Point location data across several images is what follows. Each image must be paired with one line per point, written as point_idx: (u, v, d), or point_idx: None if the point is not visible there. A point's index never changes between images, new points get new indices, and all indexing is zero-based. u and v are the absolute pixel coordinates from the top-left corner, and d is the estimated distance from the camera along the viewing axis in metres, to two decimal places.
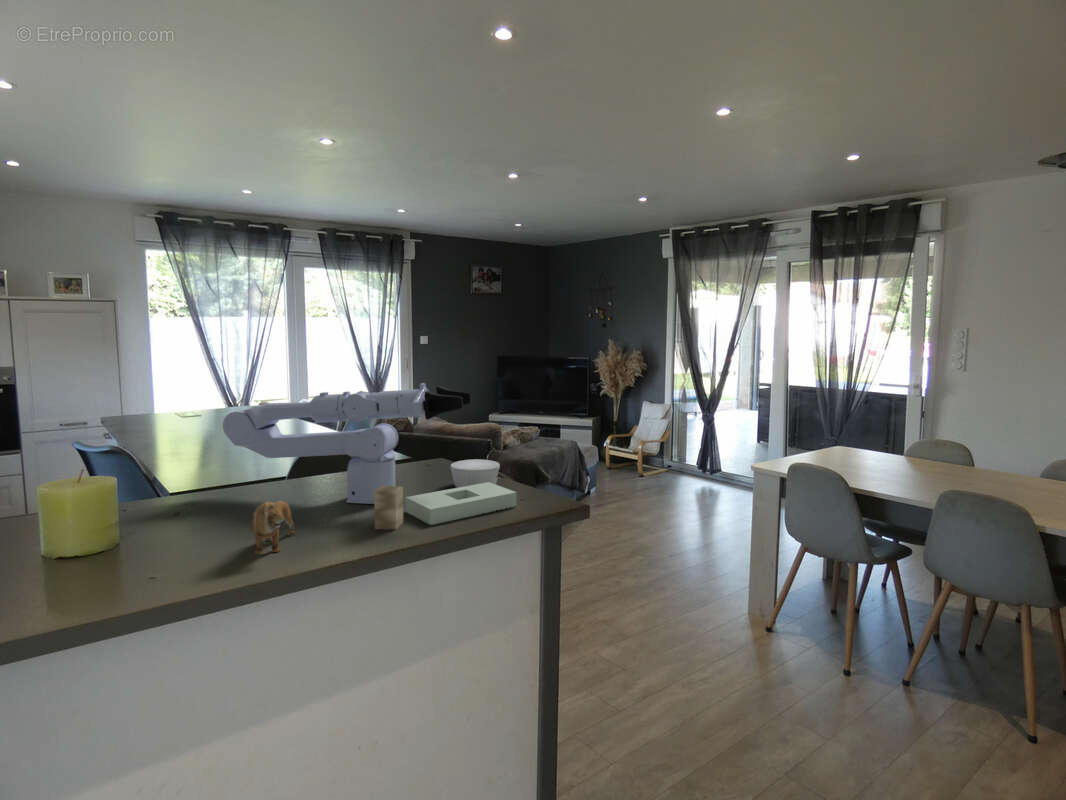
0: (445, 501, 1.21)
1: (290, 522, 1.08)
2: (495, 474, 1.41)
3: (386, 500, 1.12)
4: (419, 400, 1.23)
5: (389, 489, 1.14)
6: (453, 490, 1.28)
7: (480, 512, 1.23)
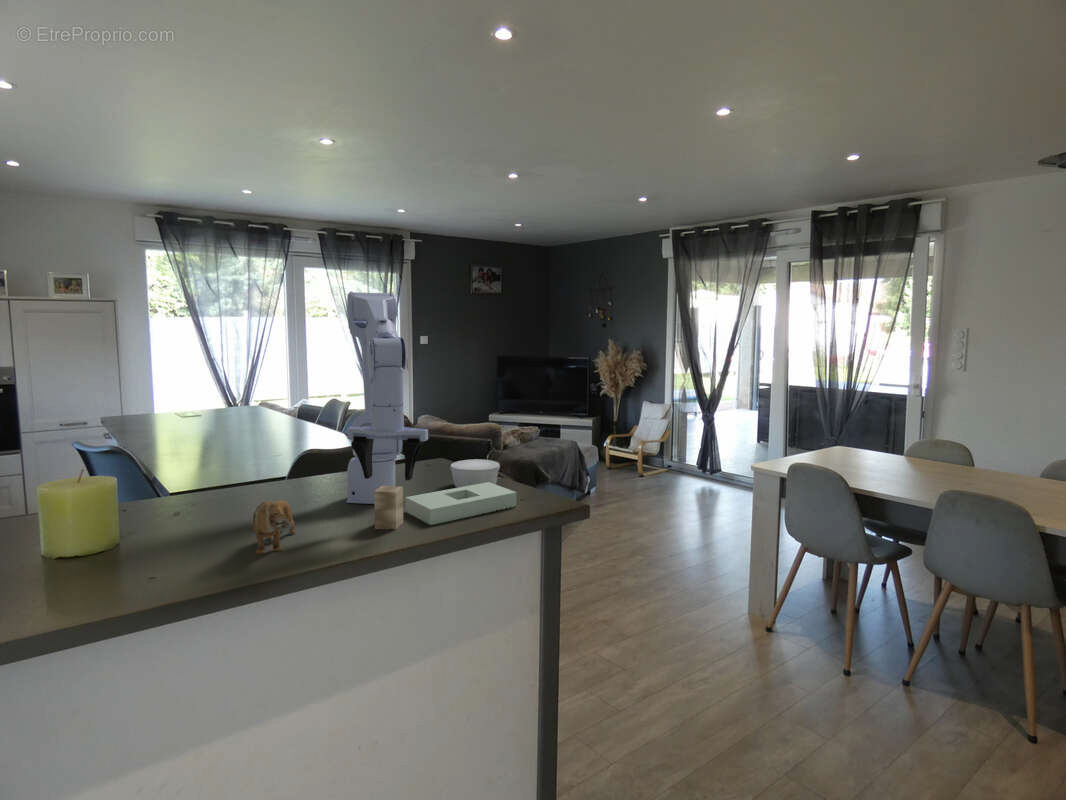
0: (445, 501, 1.21)
1: (291, 521, 1.08)
2: (495, 474, 1.41)
3: (386, 500, 1.12)
4: None
5: (389, 489, 1.14)
6: (453, 490, 1.28)
7: (480, 512, 1.23)
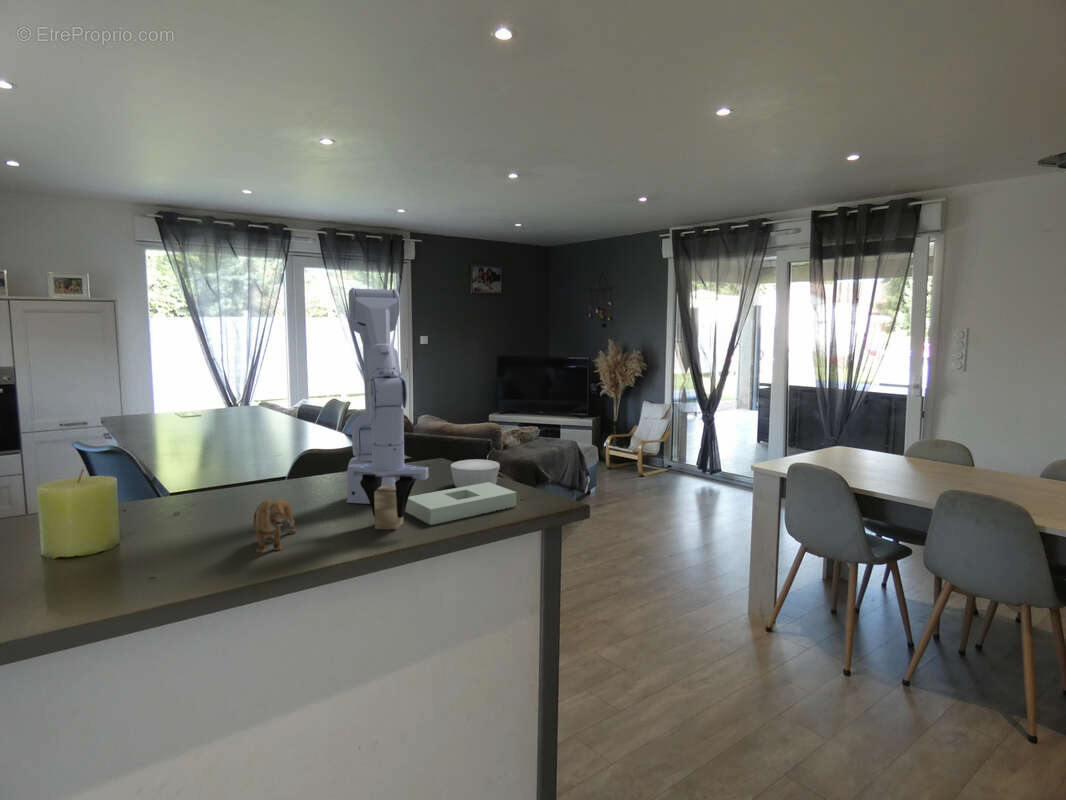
0: (445, 501, 1.21)
1: (291, 520, 1.09)
2: (495, 474, 1.41)
3: (386, 500, 1.12)
4: None
5: (389, 489, 1.14)
6: (453, 490, 1.28)
7: (480, 512, 1.23)
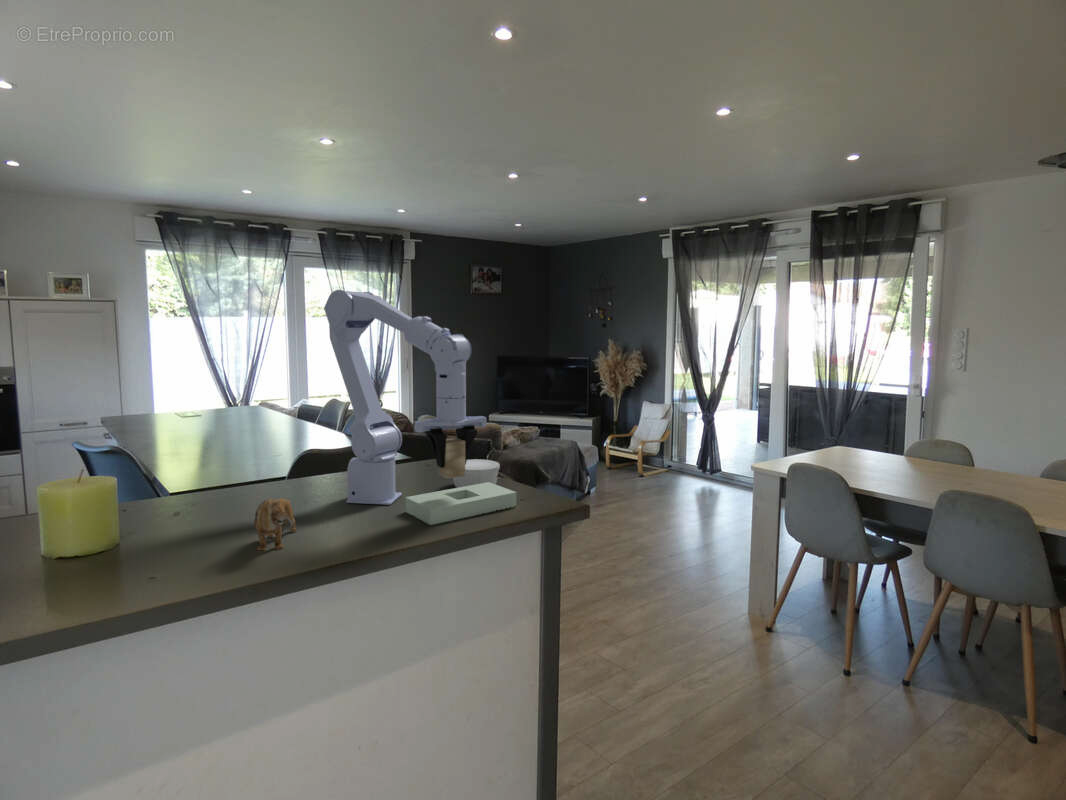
0: (445, 501, 1.21)
1: (292, 519, 1.09)
2: (495, 474, 1.41)
3: (457, 449, 1.21)
4: (430, 425, 1.19)
5: (453, 440, 1.22)
6: (453, 490, 1.28)
7: (480, 512, 1.23)
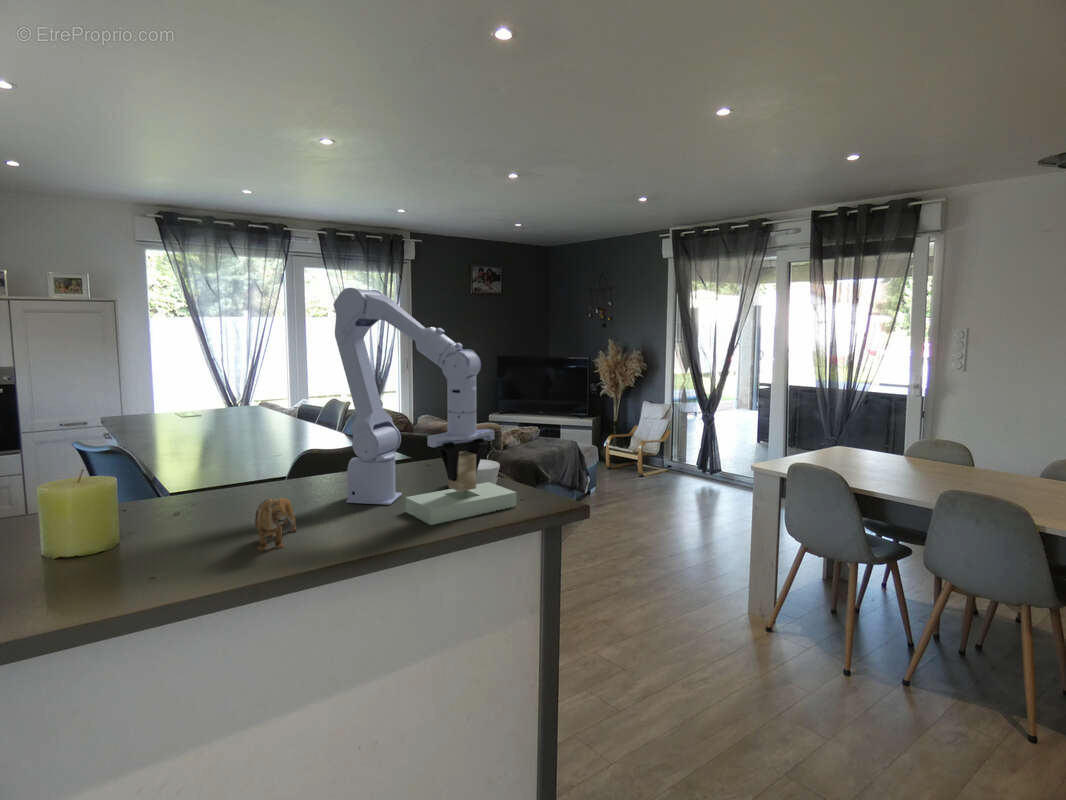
0: (445, 501, 1.21)
1: (292, 519, 1.10)
2: (495, 474, 1.41)
3: (468, 463, 1.23)
4: None
5: (464, 453, 1.24)
6: (453, 490, 1.28)
7: (480, 512, 1.23)
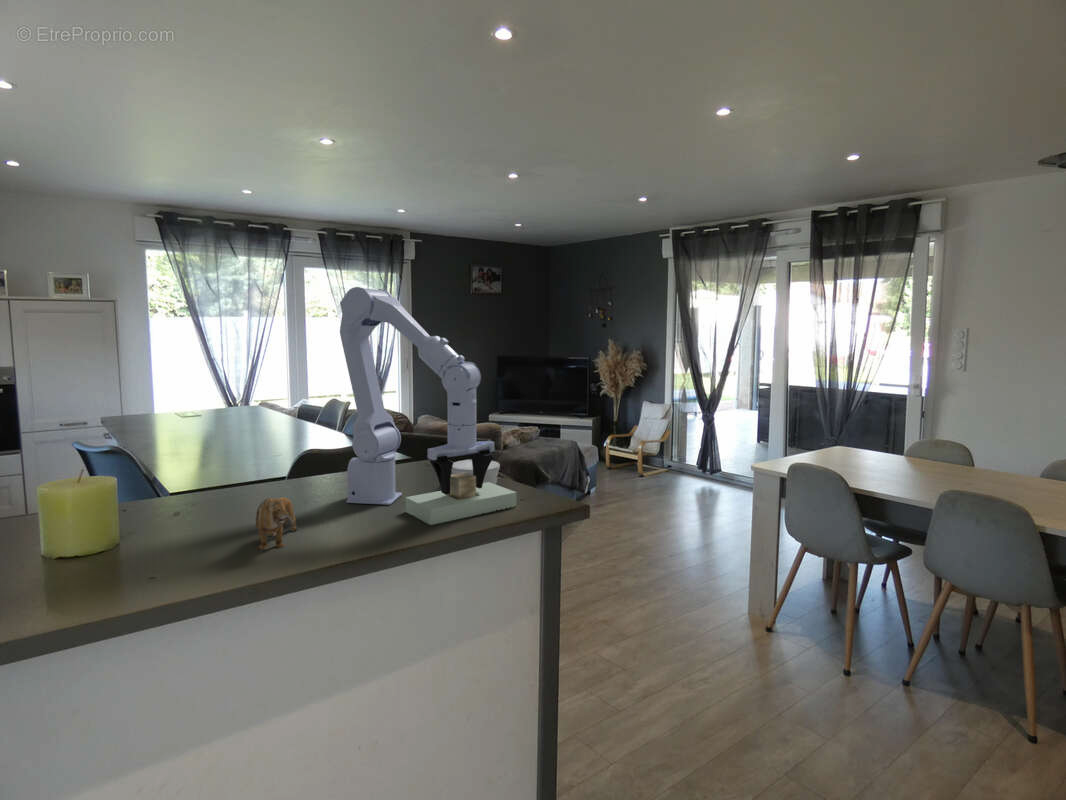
0: (445, 501, 1.21)
1: (292, 518, 1.10)
2: (495, 474, 1.41)
3: (468, 485, 1.24)
4: (444, 453, 1.21)
5: (463, 475, 1.25)
6: None
7: (480, 512, 1.23)
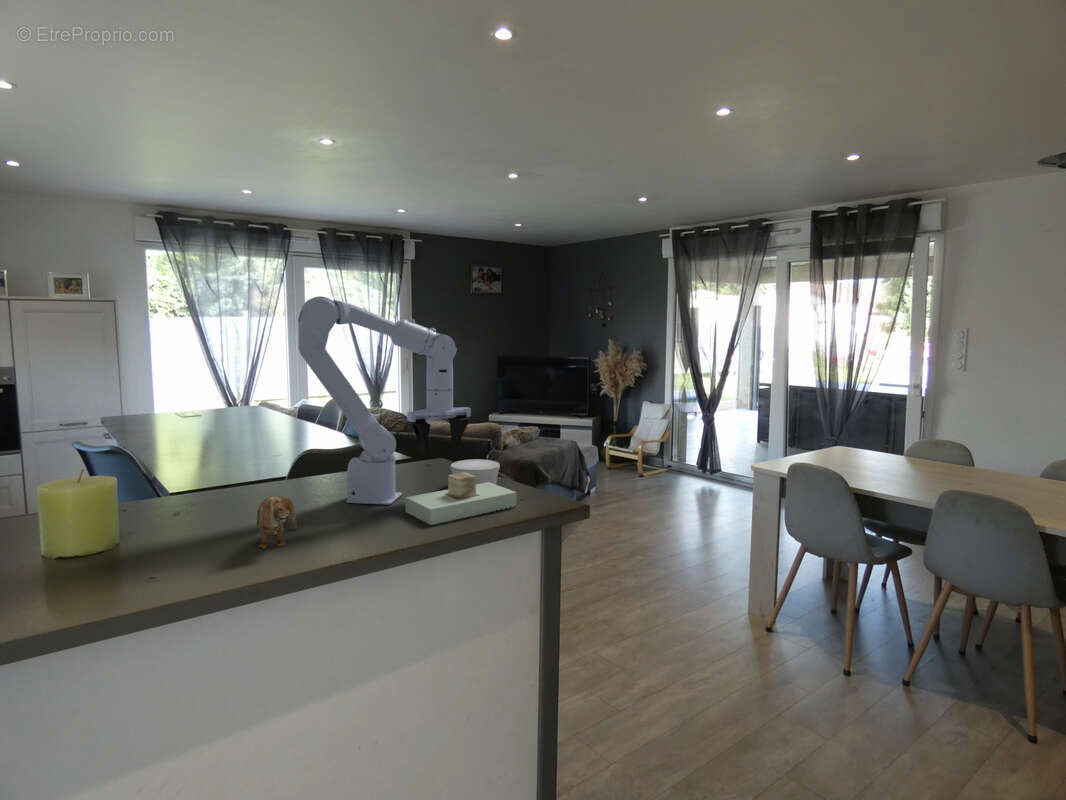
0: (445, 501, 1.21)
1: (293, 517, 1.11)
2: (495, 474, 1.41)
3: (468, 485, 1.24)
4: (422, 415, 1.31)
5: (463, 475, 1.25)
6: None
7: (480, 512, 1.23)
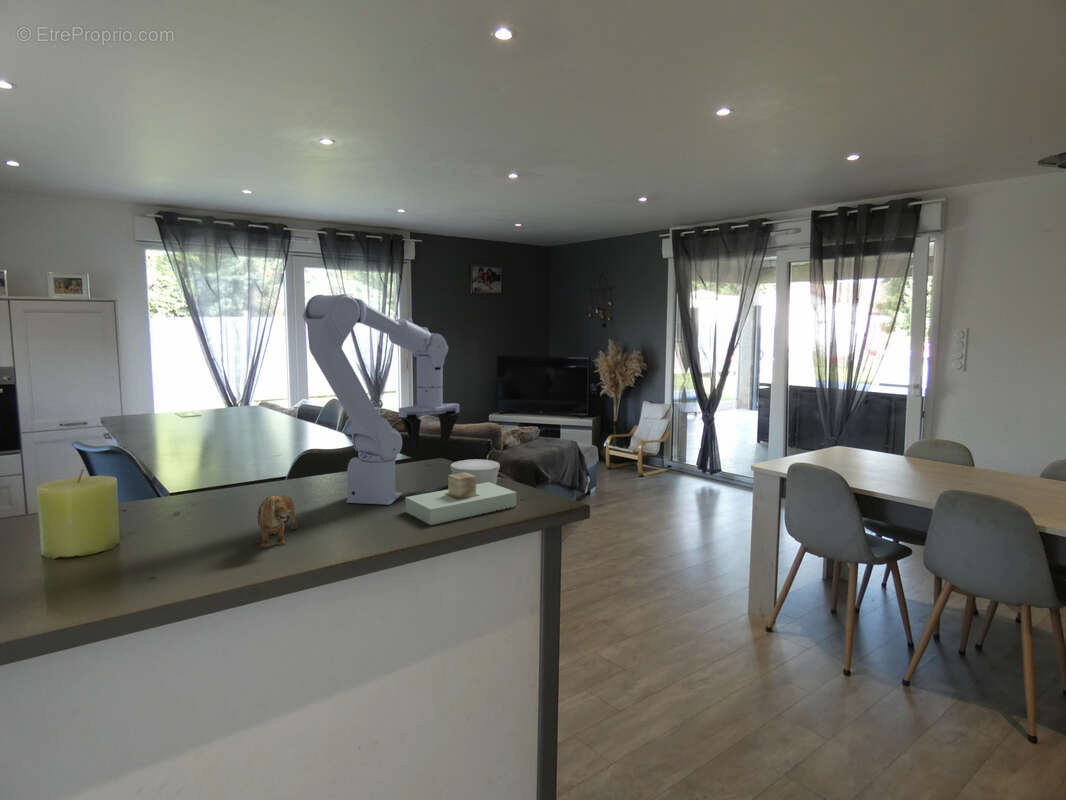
0: (445, 501, 1.21)
1: (293, 516, 1.11)
2: (495, 474, 1.41)
3: (468, 485, 1.24)
4: (413, 411, 1.37)
5: (463, 475, 1.25)
6: None
7: (480, 512, 1.23)
